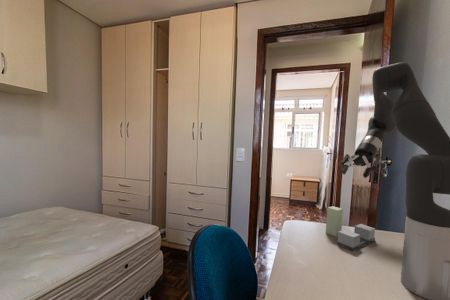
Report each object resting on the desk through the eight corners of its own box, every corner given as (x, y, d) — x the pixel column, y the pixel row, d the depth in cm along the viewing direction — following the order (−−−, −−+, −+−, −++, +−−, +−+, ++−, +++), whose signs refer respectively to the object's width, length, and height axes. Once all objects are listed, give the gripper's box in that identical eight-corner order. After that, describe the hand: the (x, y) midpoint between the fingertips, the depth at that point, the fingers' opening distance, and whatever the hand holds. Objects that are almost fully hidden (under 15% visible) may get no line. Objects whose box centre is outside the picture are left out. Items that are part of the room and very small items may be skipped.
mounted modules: (374, 237, 81) (375, 228, 81) (352, 247, 72) (353, 237, 72) (359, 232, 85) (360, 223, 85) (337, 241, 76) (338, 231, 76)
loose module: (341, 234, 85) (343, 209, 85) (335, 236, 83) (337, 210, 82) (331, 230, 88) (333, 206, 88) (325, 232, 86) (327, 207, 86)
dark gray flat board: (374, 240, 81) (375, 238, 81) (353, 251, 72) (353, 248, 72) (358, 235, 85) (359, 232, 85) (336, 244, 76) (336, 241, 76)
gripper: (349, 141, 102) (333, 166, 96) (384, 142, 90) (369, 171, 84) (353, 152, 105) (339, 177, 99) (389, 155, 93) (374, 183, 87)
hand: (353, 174), depth 91 cm, fingers open, 8 cm apart
